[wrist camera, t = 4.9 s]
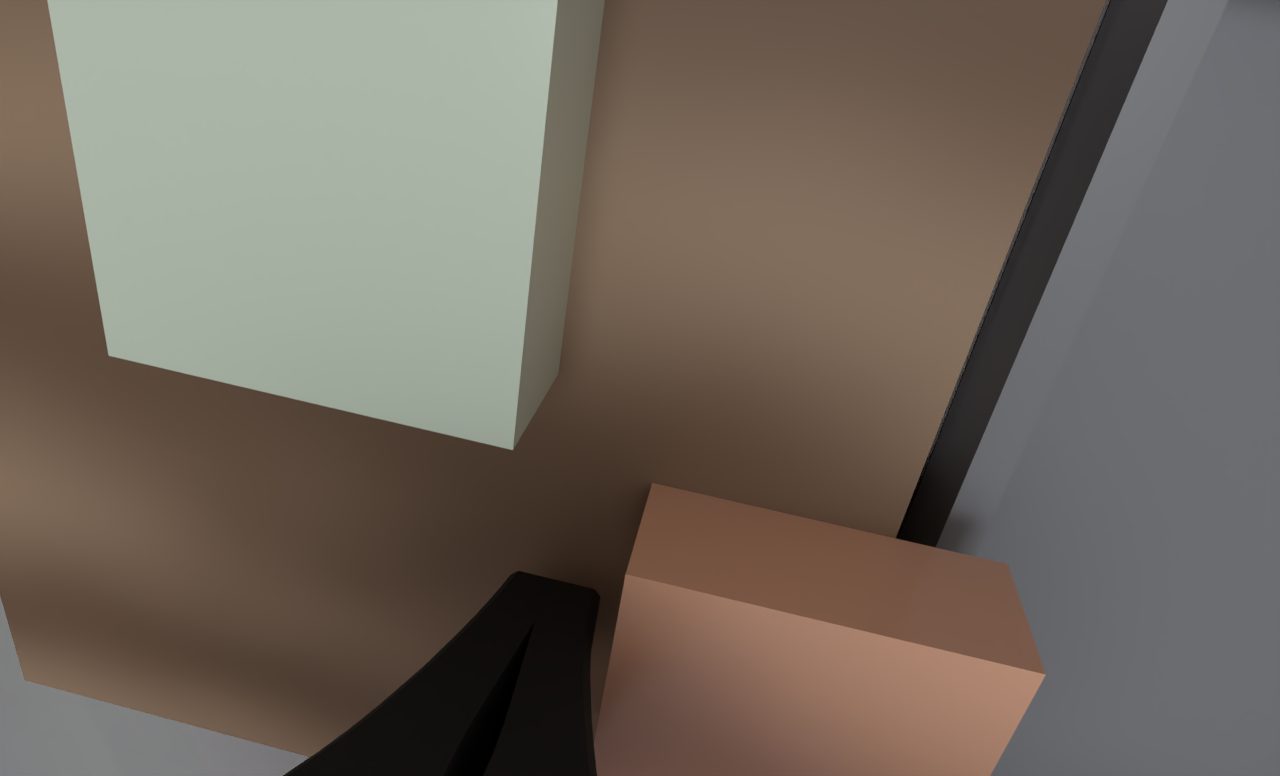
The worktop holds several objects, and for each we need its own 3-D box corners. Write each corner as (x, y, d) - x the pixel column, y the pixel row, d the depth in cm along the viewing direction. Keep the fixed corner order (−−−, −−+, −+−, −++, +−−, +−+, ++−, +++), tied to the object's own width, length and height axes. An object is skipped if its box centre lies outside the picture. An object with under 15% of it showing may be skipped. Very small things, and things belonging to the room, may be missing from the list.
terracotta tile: (898, 794, 14) (912, 916, 12) (606, 719, 14) (577, 827, 12) (1007, 564, 11) (1045, 675, 9) (651, 482, 12) (625, 574, 10)
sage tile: (558, 373, 11) (512, 450, 9) (214, 296, 11) (108, 355, 10) (609, -37, 9) (561, -39, 7) (173, -118, 9) (23, -139, 7)
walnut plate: (767, 744, 18) (762, 879, 15) (131, 581, 19) (24, 679, 16) (1062, -99, 10) (1153, -122, 8) (-28, -284, 11) (-276, -360, 9)
